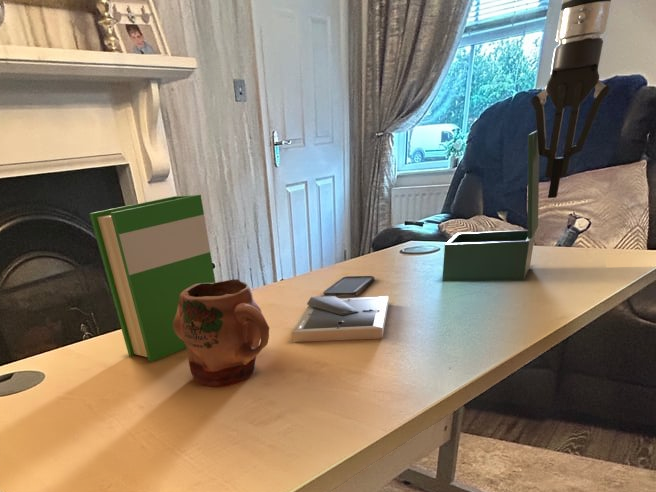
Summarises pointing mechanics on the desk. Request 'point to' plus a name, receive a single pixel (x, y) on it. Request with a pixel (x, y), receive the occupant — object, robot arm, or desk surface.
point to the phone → (349, 286)
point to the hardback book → (153, 267)
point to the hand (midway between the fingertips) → (552, 196)
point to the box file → (488, 256)
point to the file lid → (533, 183)
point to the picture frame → (342, 319)
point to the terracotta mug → (221, 331)
